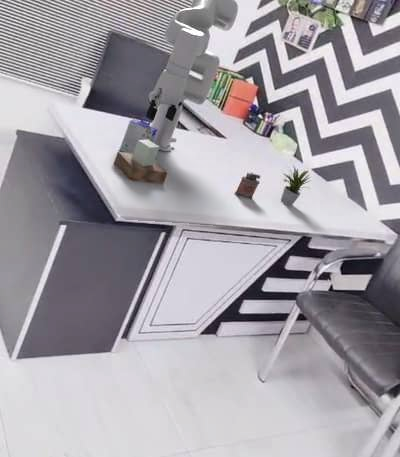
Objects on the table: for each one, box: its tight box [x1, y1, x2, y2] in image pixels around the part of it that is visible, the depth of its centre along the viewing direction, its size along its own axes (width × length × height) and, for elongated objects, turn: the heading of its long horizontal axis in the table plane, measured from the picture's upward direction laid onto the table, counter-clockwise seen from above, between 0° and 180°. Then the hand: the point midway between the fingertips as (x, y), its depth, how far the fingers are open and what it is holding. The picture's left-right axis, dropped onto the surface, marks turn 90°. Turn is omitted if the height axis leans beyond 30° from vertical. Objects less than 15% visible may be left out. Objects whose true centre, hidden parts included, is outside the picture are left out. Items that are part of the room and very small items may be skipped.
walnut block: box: [113, 151, 169, 185], centre depth 181 cm, size 14×12×5 cm
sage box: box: [131, 140, 160, 166], centre depth 178 cm, size 6×6×7 cm
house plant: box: [280, 165, 312, 207], centre depth 217 cm, size 14×14×16 cm
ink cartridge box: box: [119, 116, 157, 154], centre depth 194 cm, size 10×6×14 cm, turn 79°
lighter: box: [234, 172, 261, 200], centre depth 203 cm, size 8×3×10 cm, turn 117°
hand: (159, 118), depth 174 cm, fingers open, 9 cm apart
